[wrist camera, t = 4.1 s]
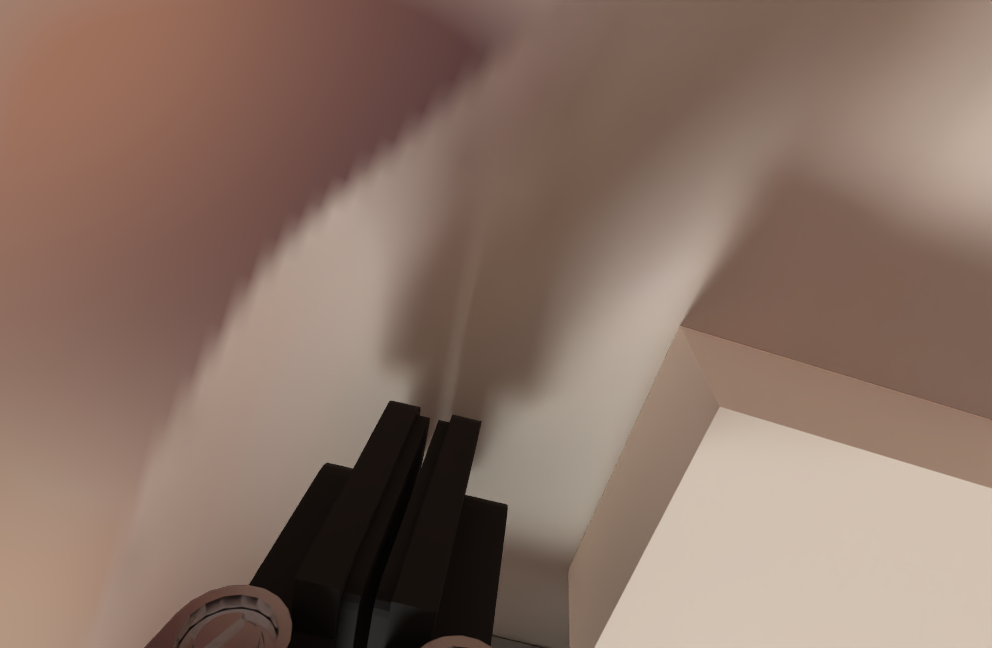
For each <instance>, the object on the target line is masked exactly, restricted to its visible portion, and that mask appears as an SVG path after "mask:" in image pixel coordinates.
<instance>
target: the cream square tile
mask: <svg viewBox="0 0 992 648" xmlns="http://www.w3.org/2000/svg"><path fill="white" fill-rule="evenodd" d="M568 579H569V644H570V648H992V420H991V419H988V418H984V417H981V416H978V415H974V414H971V413H968V412H964V411H961V410H958V409H955V408H951V407H948V406H945V405H941V404H938V403H935V402H931V401H928V400H925V399H921V398H918V397H915V396H911V395H908V394H905V393H902V392H898V391H895V390H892V389H888V388H885V387H882V386H878V385H875V384H872V383H868V382H865V381H862V380H859V379H855V378H852V377H849V376H845V375H842V374H839V373H835V372H832V371H829V370H825V369H822V368H819V367H815V366H812V365H809V364H806V363H802V362H799V361H796V360H792V359H789V358H786V357H782V356H779V355H776V354H772V353H769V352H766V351H763V350H759V349H756V348H753V347H749V346H746V345H743V344H739V343H736V342H733V341H729V340H726V339H723V338H720V337H716V336H713V335H710V334H706V333H703V332H700V331H696V330H693V329H690V328H686V327H683V326H679V328H678V331H677V333H676V335H675V337H674V339H673V342H672V344H671V346H670V348H669V350H668V353H667V355H666V357H665V359H664V361H663V364H662V366H661V368H660V370H659V372H658V374H657V377H656V379H655V381H654V383H653V385H652V388H651V390H650V392H649V394H648V396H647V399H646V401H645V403H644V405H643V407H642V410H641V412H640V414H639V416H638V418H637V421H636V423H635V425H634V427H633V429H632V431H631V434H630V436H629V438H628V440H627V442H626V445H625V447H624V449H623V451H622V453H621V456H620V458H619V460H618V462H617V464H616V467H615V469H614V471H613V473H612V475H611V478H610V480H609V482H608V484H607V486H606V488H605V491H604V493H603V495H602V497H601V499H600V502H599V504H598V506H597V508H596V510H595V513H594V515H593V517H592V519H591V521H590V524H589V526H588V528H587V530H586V532H585V535H584V537H583V539H582V541H581V543H580V545H579V548H578V550H577V552H576V554H575V556H574V559H573V561H572V563H571V565H570V567H569V570H568Z"/></svg>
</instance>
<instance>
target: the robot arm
mask: <svg viewBox="0 0 992 648" xmlns="http://www.w3.org/2000/svg"><path fill="white" fill-rule="evenodd" d="M481 422H482V421H477V420H473V419H469V418H464V417H460V416H456V415H452V417H451V420H450V422H446V421H441V420H439V421H438V423H437V426H436V429H435V432H434V434H433V437H432V440H431V443H430V445H429V448H428V451H427V454H426V457H425V459H424V462H423V465H422V461H423V456H424V450H425V445H426V439H427V434H428V429H429V423H430V418H428V417H424V416H420V407H417V406H413V405H408V404H404V403H400V402H395V401H390V402H389V403H388V405H387V407H386V409H385V410H384V412H383V414H382V416H381V418H380V420H379V422H378V423H377V425H376V427H375V429H374V431H373V433H372V435H371V437H370V438H369V440H368V442H367V444H366V446H365V448H364V450H363V451H362V453H361V455H360V457H359V459H358V461H357V463H356V465H355V466H354V468H353V469H352V468H348V467H344V466H339V465H335V464H331V463H326V464H325V465H324V466H323V467H322V468H321V470H320V471H319V472H318V474H317V476H316V477H315V479H314V481H313V482H312V484H311V485H310V487H309V489H308V490H307V492H306V493H305V495H304V497H303V498H302V500H301V502H300V503H299V505H298V506H297V508H296V510H295V511H294V513H293V514H292V516H291V518H290V519H289V521H288V523H287V524H286V526H285V527H284V529H283V531H282V532H281V534H280V535H279V537H278V539H277V540H276V542H275V544H274V545H273V547H272V548H271V550H270V552H269V553H268V555H267V556H266V558H265V560H264V561H263V563H262V565H261V566H260V568H259V569H258V571H257V573H256V574H255V576H254V577H253V579H252V581H251V582H250V584H249V585H233V586H226V587H223V588H219V589H215V590H212V591H209V592H207V593H205V594H203V595H201V596H199V597H197V598H195V599H194V600H192V601H190V602H189V603H188V604H187V605H186V606H185V607H183V608H182V609H181V610H180V611H179V612H177V613H176V614H175V615H174V616H173V617H172V619H171V620H170V621H169V622H168V623H167V624H166V625H165V626H164V627H163V628H162V629H161V630H160V631H159V632H158V634H157V635H156V636H155V637H154V638H153V639H152V640H151V641H150V642H149V643H148V644H147V645H146V646H145V648H492V647H491V640H492V632H493V624H494V616H495V607H496V599H497V591H498V583H499V575H500V567H501V559H502V551H503V543H504V535H505V527H506V519H507V510H508V505H506V504H502V503H498V502H494V501H489V500H485V499H481V498H476V497H472V496H468V495H465V493H466V488H467V484H468V480H469V475H470V471H471V466H472V462H473V457H474V453H475V449H476V444H477V440H478V435H479V431H480V427H481ZM421 467H422V468H421Z"/></svg>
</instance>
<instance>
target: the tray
mask: <svg viewBox="0 0 992 648" xmlns="http://www.w3.org/2000/svg"><path fill="white" fill-rule="evenodd" d="M491 647H492V648H540V647H536V646H532V645H528V644H524V643H519V642H515V641H511V640H507V639H503V638H498V637H494V636H492V640H491Z"/></svg>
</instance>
